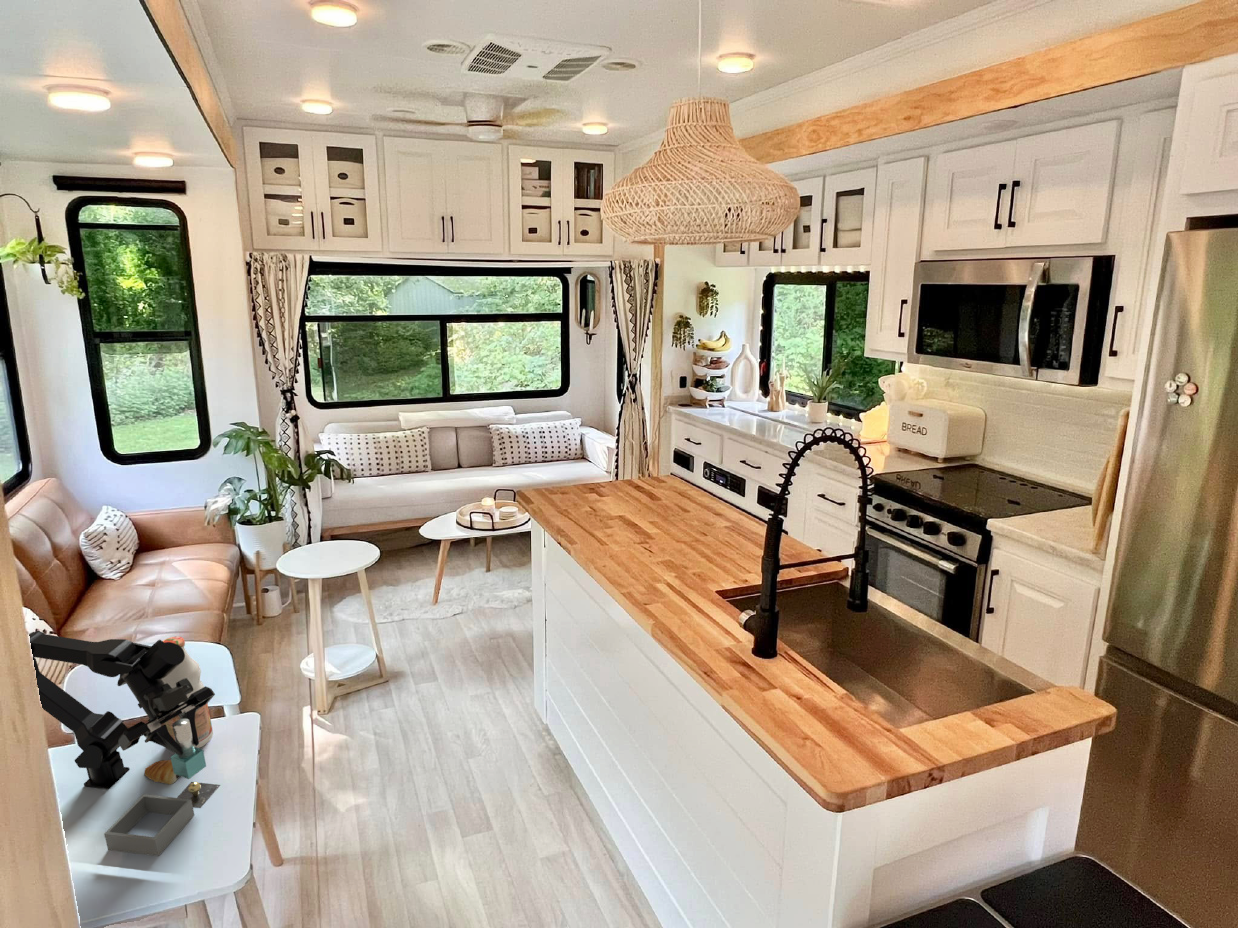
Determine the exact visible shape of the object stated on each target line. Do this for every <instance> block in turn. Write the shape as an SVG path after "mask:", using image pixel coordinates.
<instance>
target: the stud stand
mask: <svg viewBox="0 0 1238 928" xmlns="http://www.w3.org/2000/svg"><path fill="white" fill-rule="evenodd" d="M220 786H221V784H215V783H208V782H207V783H206V782H198V781H191V782H190V783H189V784H188V785H187V786H186V787H185V788H184V789H183V790H182V791H181V793H179V795H177V797H176V798H182V799H191V801H192V806H193V808H197V809H201V808H202V807H203V806H204V805H205V804H206V802H207V801H208V800H209V799H210V798H211V797H212V796H213V794H214V793H215V792H216V791H217V790H218V789H219V787H220Z"/></svg>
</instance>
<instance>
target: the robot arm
mask: <svg viewBox="0 0 1238 928" xmlns="http://www.w3.org/2000/svg"><path fill="white" fill-rule="evenodd" d="M28 634H29V636H30V643H31V649H32V654H33V660H34V667H35V670H36V678H37V685H38V688H39V695H40V701H41V704H42V708H43V709H42V708H41V709H42V710H44V711H45V712H46V713H48V714H49V715H50V716H51V717H53V718H55V720H57V721H58V722H60V723H61V724H63V726H65V727H66V728H68V729H69V730H70V731H72V732H73V734H74V737H75V739H76V743H77V746H78V747H79V748H80V749H81V750H82V752H80V754H78V756H77V757H76V758H75V759H74V763H75V764H76V766H77V768H79V769H86V771H87V773H86V774H87V776H88V779H87V780H86V781H85V782H84V783H83V786H84V787H87V788H88V787H89V788H95V789H108V790H109V789H111V788H112V787H113V786H114V785H115V784H116V783H118V781H120V780H121V779H122V778H123V777H124V776H125V775H126V774H127V773H128V772H129V771H130V767H129V766H128V767H127V766H125V765H124V761H123V758H121V753H120V751H118V749H119V748H120V749H121V750H122V751H123V752H124V751H127V750H128V749H130V748H132V747H134V746H135V745H137V744H138V743H139V741H140V738H141V737H144V738H145V740H144V743H149V742H151V743H155V744H157V745H159V746H161V747H164V748H165V749H167V750H169V751H170V752H173V753H174V754H178V755H179V756H181V755H182V754H183V752H182V750H181V748H180V747H179V745H178V744H177V743H176V741H175V740H174V739H173V737H172V736H171V735H170V734H169V732H168V729H167V726H166V724H165V723H166V722H168V721H169V720H171V719H173V718H175V717H176V716H179V717H180V719H189V721H190V726H191V731H192V736H193V742H194V745H195V746H197V745H198V744H199V741H198V736H197V731H196V725H195V713H196V711H197V710H198V709H199V708H201V707H203V706H204V705H206V704H207V703H209V702H210V701H211V700H212V699H213V698H214V697H215V695H216V694H215V692H214V691H213V689H212V688H211V687H209V686H205V685H204V687H203V688H202V689H200V690H198V691H196V692H194V693H192V694H191V695H190V696H189V698H188V697H187V694H189V693H191V692H192V691H193V687H192V684H191V683H190V682H189V680H188V679H187V678H184V679H182V680H180V681H178V682H177V683H176V687H174V688H171V687H170V685H169V684H168V683H166V684H165V683H164V682H163V680H162V678H164V677H166V676H167V675H168V674H169V673H170V672H172V671H173V670H174V669H175V668H176V667H177V666H178V665H179V664H181V663H182V662H183V660H184V658H185V653H184V651H183V649H182V648H181V647H180V646H179V645H178V644H175V643H172V642H165V643H164V642H163V641H164V640H162V639H157V641H156V642H154V643H153V644H152V645H147V644H142V643H137V642H133V641H132V640H129V639H125V638H124V639H123V638H122V639H121V638H112V639H111V638H110V639H106V640H100V641H90V640H84V639H77V638H71V637H64V636H59V635H52V634H46V633H44V632H43V631H40V630H38V631H37V630H36V631H32V632H30V633H28ZM36 658H39V659H45V660H48V661H49V660H51V661H56V662H64V663H70V664H75V665H81V666H85V667H88V669H90V671H91V672H92V673H95V674H98V675H101V676H103V677H108V678H116V677H118V676H119V677H118V680H117V684H116V685H117V686H118V687H121V686H123V685H127V687H128V688H129V689H130V691H131V693H132V694H133V696H134V697H135V698H136V700H137V702H138V703H137V706H138V707H139V709H143V711H144V712H145V714H146V715H147V717H148V720H147V721H148V722H146V723H145V722H143V721H139V722H137V723H136V724H133V725H132V726H130V727H129V728H128V726H127V725H126V724H125V723H124V720H123V719H121V718H119V717H117V716H116V715H115V714H114V713H113V712H111V711H109V710H108V711H106V712H104V714H101V713H95V712H94V711H92V710H90V709H89V708H88V707H86V706H85V705H84V704H83V703H81V702H80V701H79V700H77V699H76V698H75V697H74V696H72V695H71V694H69V693H68V692H67V691H66V690H64V689H62V688H61V687H60V686H59V685H58V684H56V683H55V682H54V681H52V680H51V679H50V678H48V677H47V676H46V675H44V674H43V673H41V672H40V669H39V665H38V661H37V659H36ZM182 702H184V703H182ZM180 703H182V704H181V705H179V704H180ZM171 714H172V715H171Z"/></svg>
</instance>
